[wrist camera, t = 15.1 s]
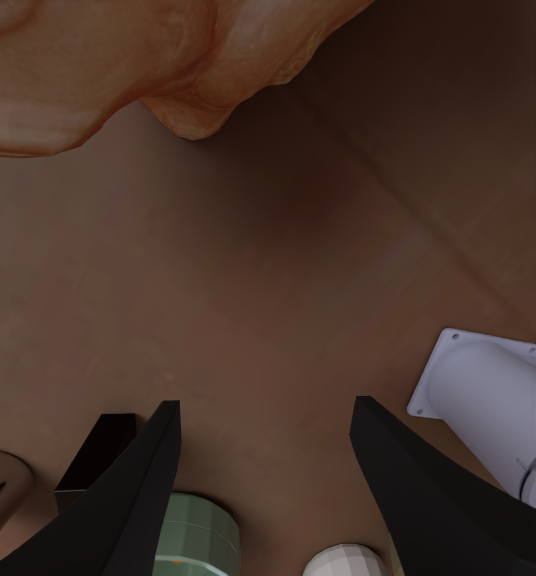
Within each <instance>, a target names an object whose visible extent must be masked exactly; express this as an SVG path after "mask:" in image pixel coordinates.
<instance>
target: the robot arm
mask: <svg viewBox="0 0 536 576" xmlns="http://www.w3.org/2000/svg"><path fill="white" fill-rule="evenodd" d="M453 335H455V336H454V337H453ZM418 410H419V411H418ZM407 412H408V413H409V414H410V415H412V416H419V417H427V418H435V419H443V420H444V421H445V422H446V423H447V424H448V426H449V427H450V428H451V429H452V430H453V431H454V432H455V434H456V435H457V436H458V437H459V438H460V439H461V440H462V442H463V443H464V444H465V445H466V446H467V447H468V448H469V450H470V451H471V452H472V453H473V454H474V455H475V456H476V457H477V459H478V460H479V461H480V462H481V463H482V464H483V465H484V467H485V468H486V469H487V470H488V471H489V472H490V473H491V475H492V476H493V477H494V478H495V479H496V480H497V481H498V482H499V484H500V485H501V486H502V487H503V488H504V489H505V490H506V492H507V493H508V494H507V493H505V492H503V491H501V490H500V489H498V488H496V487H495V486H493V485H491V484H489V483H488V482H486V481H484V480H482V479H481V478H479V477H477V476H476V475H474V474H473V473H471V472H469V471H468V470H466V469H465V468H463V467H462V466H460V465H459V464H457V463H456V462H454V461H453V460H451V459H450V458H448V457H447V456H445V455H444V454H442V453H441V452H440V451H438V450H437V449H436V448H434V447H433V446H431V445H430V444H429V443H427V442H426V441H425V440H423V439H422V438H421V437H420V436H418V435H417V434H416V433H415V432H413V431H412V430H411V429H410V428H408V427H407V426H406V425H405V424H403V423H402V422H401V421H400V420H399V419H397V418H396V417H395V416H394V415H393V414H392V413H390V412H389V411H388V410H387V409H386V408H384V407H383V406H382V405H381V404H380V403H379V402H377V401H376V400H375V399H374V398H372V397H371V396H356V400H355V406H354V411H353V417H352V422H351V428H350V433H349V436H350V439H351V442H352V446H353V449H354V452H355V455H356V458H357V461H358V463H359V465H360V467H361V470H362V472H363V474H364V476H365V479H366V481H367V483H368V485H369V487H370V490H371V492H372V494H373V496H374V498H375V500H376V503H377V505H378V507H379V509H380V511H381V514H382V516H383V518H384V520H385V523H386V525H387V528H388V530H389V532H390V535H391V538H392V541H393V543H394V546H395V549H396V552H397V555H398V557H399V560H400V563H401V566H402V569H403V572H404V575H405V576H536V344H534V343H528V342H523V341H517V340H512V339H507V338H501V337H496V336H491V335H485V334H480V333H475V332H469V331H464V330H459V329H453V328H446V329H444V330H443V331H442V332H441V334H440V336H439V339H438V341H437V343H436V345H435V347H434V350H433V352H432V354H431V356H430V358H429V361H428V363H427V365H426V367H425V369H424V372H423V374H422V376H421V378H420V380H419V382H418V385H417V387H416V389H415V391H414V393H413V396H412V398H411V400H410V402H409V404H408V407H407ZM181 442H182V441H181V420H180V400H175V401H163V402H162V403H161V404H160V405H159V406H158V408H157V409H156V411H155V412H154V414H153V415H152V416H151V418H150V419H149V420H148V422H147V423H146V424H145V426H144V427H143V428H142V430H141V431H140V432H139V433H138V435H137V436H136V437H135V438H134V440H133V441H132V442H131V443H130V444H129V446H128V447H127V448H126V449H125V450H124V451H123V452H122V454H121V455H120V456H119V457H118V458H117V459H116V460H115V461H114V463H113V464H112V465H111V466H110V467H109V468H108V469H107V470H106V471H105V472H104V473H103V474H102V475H101V476H100V477H99V478H98V479H97V480H96V481H95V482H94V483H93V484H92V485H91V486H90V487H89V488H88V489H87V490H86V491H85V492H84V493H83V494H82V495H81V496H80V497H79V498H77V499H76V500H75V501H74V502H73V503H72V504H71V505H70V506H69V507H68V508H66V509H65V510H64V511H63V512H62V513H61V514H59V515H58V516H57V517H56V518H55V519H54V520H52V521H51V522H50V523H49V524H47V525H46V526H45V527H44V528H42V529H41V530H40V531H39V532H37V533H36V534H35V535H34V536H32V537H31V538H30V539H29V540H27V541H26V542H25V543H24V544H22V545H21V546H20V547H18V548H17V549H16V550H14V551H13V552H12V553H10V554H9V555H8V556H6V557H5V558H3V559H2V560H1V561H0V576H152V573H153V567H154V561H155V556H156V550H157V546H158V542H159V537H160V533H161V529H162V525H163V522H164V518H165V514H166V510H167V506H168V503H169V499H170V495H171V491H172V487H173V484H174V480H175V476H176V472H177V468H178V461H179V455H180V448H181Z"/></svg>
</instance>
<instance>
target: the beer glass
mask: <svg viewBox="0 0 536 576" xmlns="http://www.w3.org/2000/svg"><path fill="white" fill-rule="evenodd" d="M34 487H35V480H34V476H33V474H32V472H31V470H30V469H29V468H28V466H27V465H26V464H24V463H23V462H22V461H21V460H19V459H18V458H16V457H14V456H12V455H9V454H7V453H3V452H0V531H1V530H2V528H3V527H4V526H5V525H6V524H7V522H8V521H9V520H10V519H11V518H12V517H13V516H14V514H15V513H16V512H17V511H18V510H19V509H20V508H21V507H22V506H23V505H24V503H25V502H26V501H27V500H28V499H29V497H30V496H31V494H32V492H33V490H34Z"/></svg>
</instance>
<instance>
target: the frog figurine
mask: <svg viewBox="0 0 536 576" xmlns="http://www.w3.org/2000/svg"><path fill="white" fill-rule="evenodd" d="M374 1H375V0H0V157H11V158H31V157H50V156H52V155H55V154H57V153H60V152H64V151H67V150H70V149H74V148H77V147H80V146H81V145H83V144H84V143H85V142H86V141H87V140H88V139H90V138H91V137H92V136H93V135H94V134H95V133H97V132H98V131H99V130H100V129H101V127H102V126H103V124H104V123H105V121H106V120H108V119H109V118H110V117H111V116H112V115H113V114H114V113H115V112H116V111H117V110H119V109H121V108H122V107H124V106H126V105H128V104H129V103H131V102H133V101H134V100H136V99H138V100H139V101H140V102H141V103H142V104H143V105H144V106H145V107H146V108H147V109H148V110H149V111H151V112H152V113H153V114H154V115H155V116H156V117H157V118H158V119H159V120H160V121H161V122H162V123H163V124H164V125H165V126H166V127H167V128H169V129H170V130H171V131H172V132H173V133H175V134H176V135H177V136H179V137H183V138H185V139H188V140H191V141H194V140H199V139H204V138H207V137H209V136H211V135H213V134H214V133H216V132H218V131H219V129H220V128H221V127H222V125H223V124H224V123H225V122H226V121H227V119H228V118H229V116H230V114H231V113H232V111H233V110H234V109H235V108H236V107H237V105H238V104H239V103H240V102H242V101H244V100H246V99H248V98H250V97H252V96H253V95H254V94H255V93H256V92H257V91H259V90H261V89H263V88H265V87H267V86H272V85H280V84H287V83H288V82H289V81H290V80H291V79H293V78H294V77H295V76H296V75H297V74H298V73H299V72H301V71H302V69H303V68H304V67H305V65H306V64H307V63H308V62H309V61H310V60H311V58H312V56H313V54H314V53H315V51H316V49H317V48H318V47H319V46H320V45H321V44H322V43H323V41H324V40H325V39H326V38H327V37H328V36H329V35H330V34H331V33H332V32H334V31H335V30H337V29H339V28H340V27H341V26H342V25H343V24H344V23H346V22H347V21H349V20H350V19H352V18H353V17H355V16H356V15H358V14H359V13H360V12H361V11H363V10H364V9H365V8H366V7H368V6H369V5H370V4H371V3H373V2H374Z"/></svg>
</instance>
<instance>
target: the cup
mask: <svg viewBox="0 0 536 576" xmlns="http://www.w3.org/2000/svg"><path fill="white" fill-rule="evenodd" d="M302 576H389V575H388V573H387V570H386V567H385V566H384V564H383V562H382V561H381V559H380V558H379V557H378V556H377V555H376V554H375V553H374V552H373V551H371V550H370V549H369V548H367V547H366V546H362V545H358V544H339V545H336V546H333V547H330V548H327V549H325V550H323V551H322V552H320V553H318V554H317V555H315V556H314V557H313V558H312V559H311V561H310V562H309V563H308V564H307V566H306V568H305V570H304V572H303V575H302Z"/></svg>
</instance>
